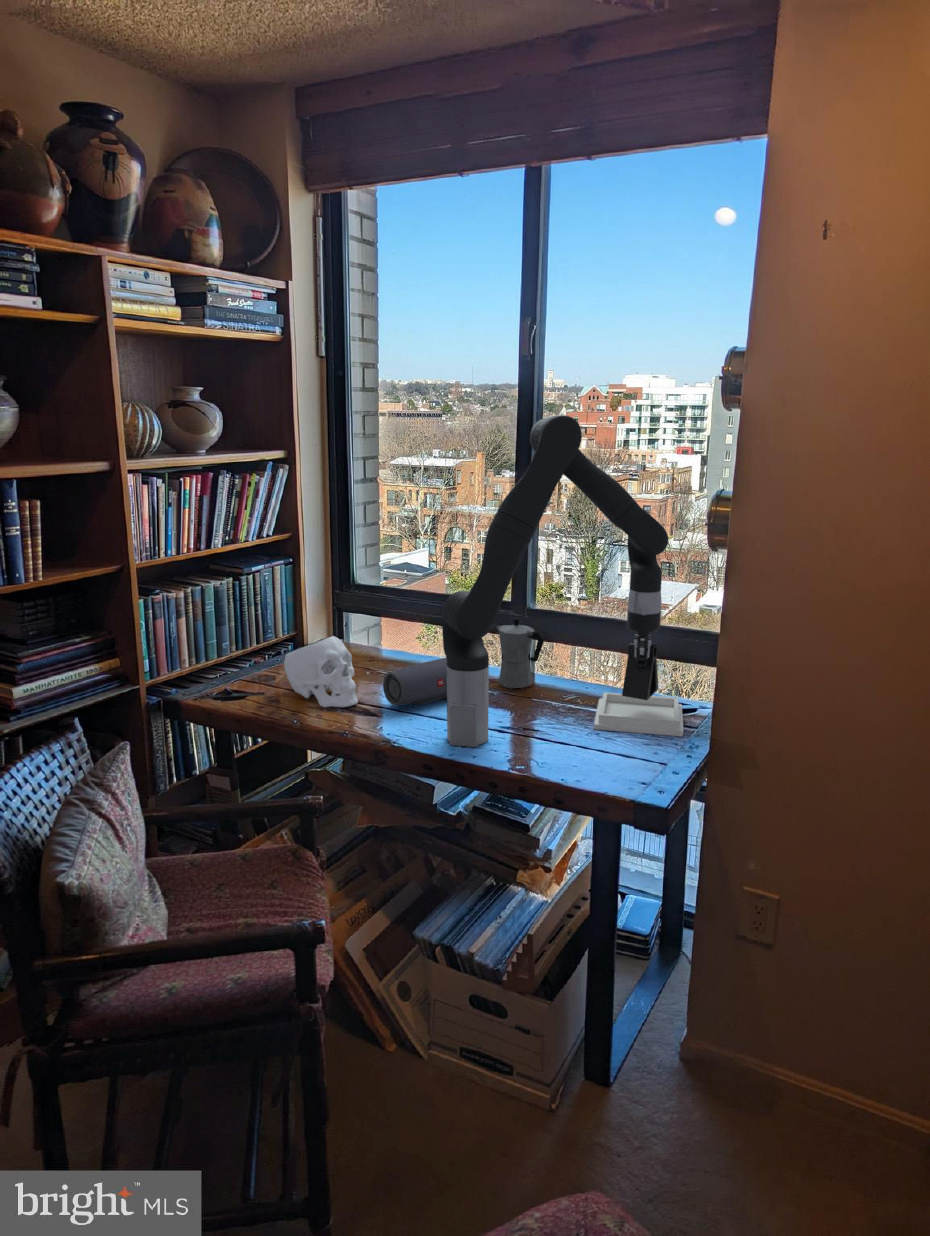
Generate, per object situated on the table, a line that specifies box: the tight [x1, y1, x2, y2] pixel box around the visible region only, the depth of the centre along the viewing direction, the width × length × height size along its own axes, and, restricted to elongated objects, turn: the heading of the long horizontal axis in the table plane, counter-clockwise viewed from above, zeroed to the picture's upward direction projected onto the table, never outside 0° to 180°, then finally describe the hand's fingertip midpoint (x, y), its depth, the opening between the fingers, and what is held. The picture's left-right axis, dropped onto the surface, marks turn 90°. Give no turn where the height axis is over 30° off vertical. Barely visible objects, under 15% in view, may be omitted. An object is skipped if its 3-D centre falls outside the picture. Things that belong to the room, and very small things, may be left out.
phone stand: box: [621, 641, 659, 700], centre depth 197 cm, size 9×6×12 cm, turn 150°
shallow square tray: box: [593, 691, 684, 737], centre depth 200 cm, size 18×20×3 cm
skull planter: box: [283, 635, 359, 708], centre depth 213 cm, size 14×20×19 cm
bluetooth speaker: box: [382, 657, 447, 706], centre depth 212 cm, size 23×9×10 cm, turn 129°
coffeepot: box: [495, 617, 545, 690], centre depth 223 cm, size 15×9×18 cm, turn 49°
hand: (640, 680), depth 198 cm, fingers closed on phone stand, 2 cm apart
